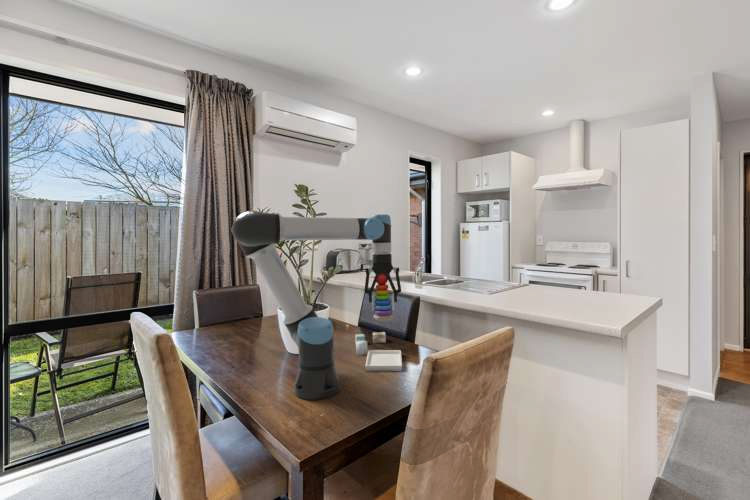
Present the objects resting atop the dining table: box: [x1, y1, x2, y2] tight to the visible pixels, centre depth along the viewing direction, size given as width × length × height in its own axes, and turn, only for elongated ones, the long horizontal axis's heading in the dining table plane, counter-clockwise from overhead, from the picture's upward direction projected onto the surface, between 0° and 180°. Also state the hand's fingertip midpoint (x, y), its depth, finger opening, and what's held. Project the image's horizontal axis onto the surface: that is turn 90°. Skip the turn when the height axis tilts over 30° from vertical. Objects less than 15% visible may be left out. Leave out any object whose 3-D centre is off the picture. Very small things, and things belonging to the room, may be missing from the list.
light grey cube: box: [355, 340, 369, 356], centre depth 155 cm, size 5×5×5 cm
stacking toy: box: [373, 274, 394, 322], centre depth 142 cm, size 8×8×19 cm
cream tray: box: [364, 349, 403, 372], centre depth 144 cm, size 14×18×2 cm
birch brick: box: [372, 331, 387, 344], centre depth 172 cm, size 6×4×4 cm, turn 92°
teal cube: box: [354, 333, 366, 344], centre depth 169 cm, size 4×4×4 cm
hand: (383, 310), depth 143 cm, fingers closed on stacking toy, 7 cm apart
